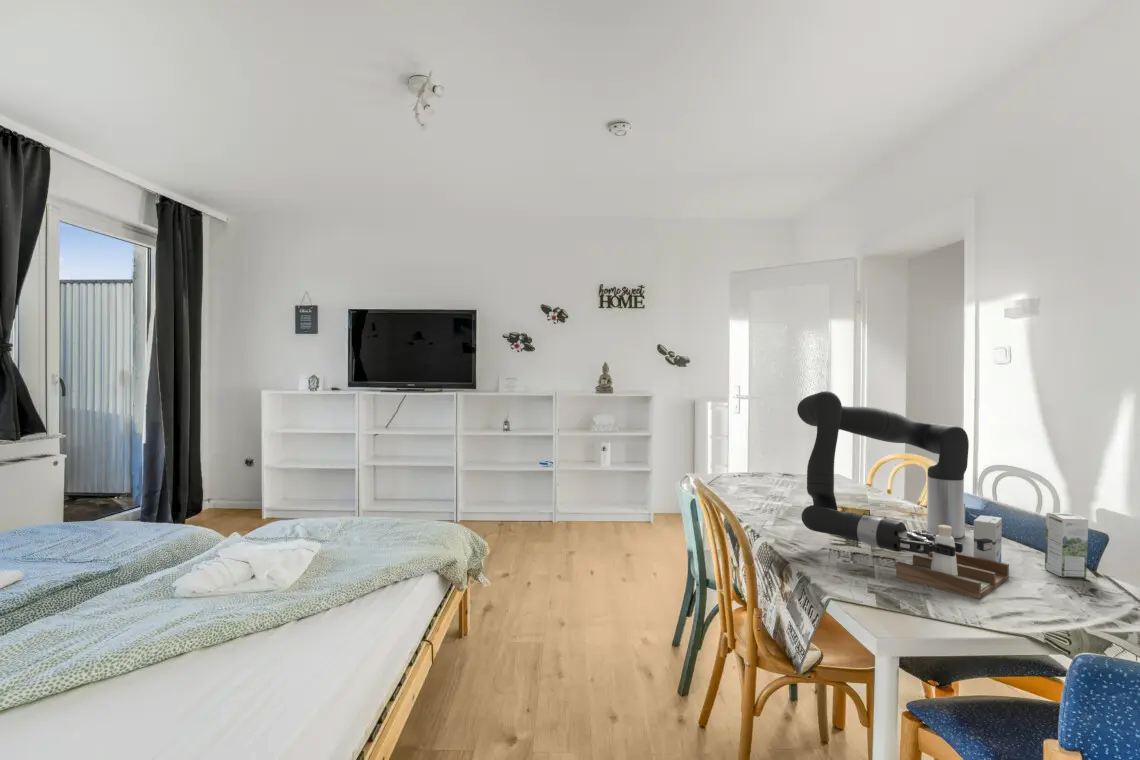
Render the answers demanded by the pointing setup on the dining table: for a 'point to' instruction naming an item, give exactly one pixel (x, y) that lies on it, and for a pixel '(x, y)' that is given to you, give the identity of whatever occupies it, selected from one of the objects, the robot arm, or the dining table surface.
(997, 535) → the ink box
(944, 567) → the salt shaker
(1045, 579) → the dining table surface
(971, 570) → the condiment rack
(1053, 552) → the syrup box
